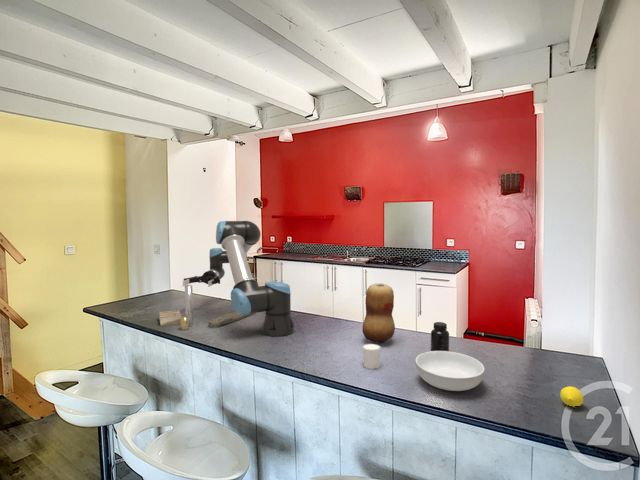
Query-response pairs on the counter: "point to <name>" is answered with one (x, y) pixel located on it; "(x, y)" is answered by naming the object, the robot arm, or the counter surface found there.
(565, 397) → the lemon
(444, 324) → the supplement bottle
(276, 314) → the robot arm
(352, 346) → the counter surface
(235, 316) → the elongated rock
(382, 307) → the butternut squash
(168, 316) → the guide block
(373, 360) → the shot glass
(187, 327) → the brass stub pin
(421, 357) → the serving bowl
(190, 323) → the steel pin
